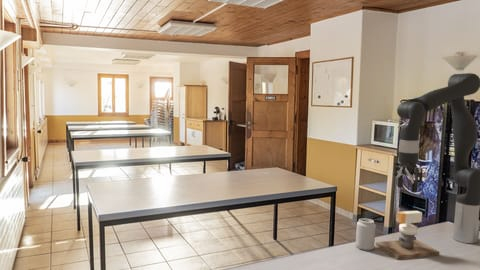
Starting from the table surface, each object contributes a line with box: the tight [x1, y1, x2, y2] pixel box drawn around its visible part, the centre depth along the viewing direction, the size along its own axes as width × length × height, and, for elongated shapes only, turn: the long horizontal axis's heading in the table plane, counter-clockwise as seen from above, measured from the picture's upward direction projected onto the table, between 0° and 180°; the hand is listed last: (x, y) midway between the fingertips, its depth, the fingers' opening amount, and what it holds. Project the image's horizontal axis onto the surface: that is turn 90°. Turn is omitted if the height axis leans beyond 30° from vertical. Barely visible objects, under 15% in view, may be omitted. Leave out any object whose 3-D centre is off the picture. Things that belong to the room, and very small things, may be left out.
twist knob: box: [395, 210, 423, 236], centre depth 157 cm, size 10×7×8 cm
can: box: [355, 217, 377, 251], centre depth 159 cm, size 8×8×12 cm
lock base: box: [375, 233, 440, 260], centre depth 157 cm, size 20×14×8 cm
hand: (406, 189), depth 156 cm, fingers open, 8 cm apart
